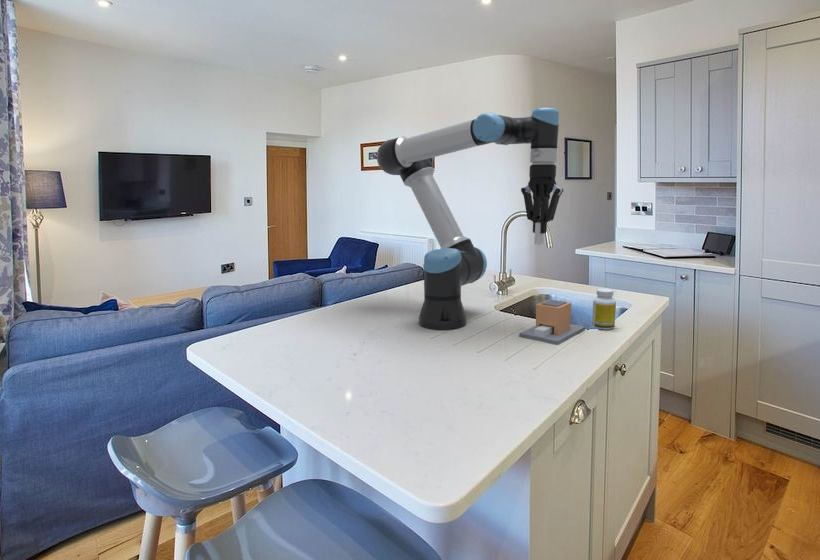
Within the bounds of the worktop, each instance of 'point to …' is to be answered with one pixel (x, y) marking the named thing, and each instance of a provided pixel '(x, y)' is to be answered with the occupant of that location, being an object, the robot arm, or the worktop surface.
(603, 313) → the pill bottle
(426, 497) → the worktop surface
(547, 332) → the rail board
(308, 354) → the worktop surface
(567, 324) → the block
